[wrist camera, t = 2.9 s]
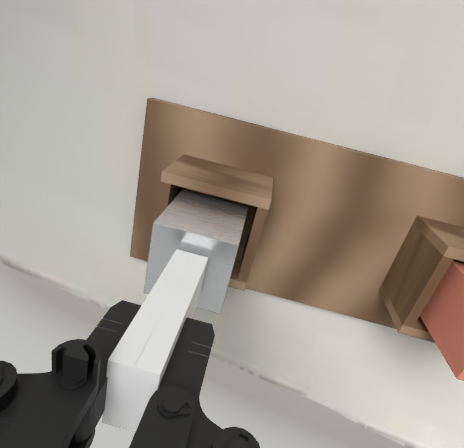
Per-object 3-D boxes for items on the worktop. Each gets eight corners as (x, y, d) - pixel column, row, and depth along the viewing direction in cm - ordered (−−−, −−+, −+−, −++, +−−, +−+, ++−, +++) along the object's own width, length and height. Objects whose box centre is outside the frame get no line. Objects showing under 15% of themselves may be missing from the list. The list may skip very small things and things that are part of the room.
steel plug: (173, 246, 21) (143, 292, 17) (182, 189, 19) (153, 222, 15) (233, 263, 21) (220, 314, 16) (248, 206, 19) (238, 245, 15)
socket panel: (135, 250, 27) (102, 289, 22) (152, 97, 22) (115, 103, 17) (472, 341, 26) (517, 403, 21) (570, 205, 21) (660, 244, 16)
